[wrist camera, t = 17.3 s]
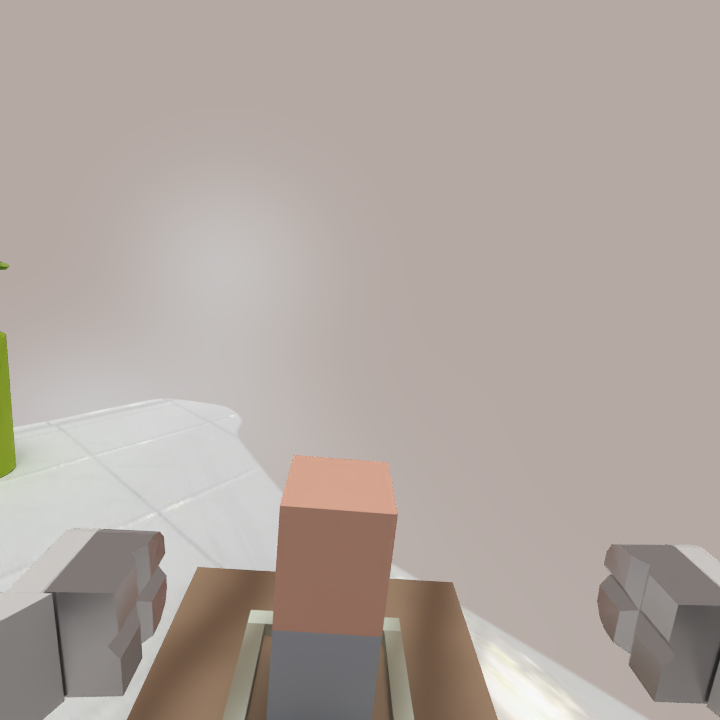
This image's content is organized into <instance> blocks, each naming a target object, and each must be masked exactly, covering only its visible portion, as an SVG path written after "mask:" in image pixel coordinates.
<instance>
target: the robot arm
mask: <svg viewBox="0 0 720 720" xmlns="http://www.w3.org/2000/svg"><path fill="white" fill-rule="evenodd" d="M164 554H165V546H164V536H163V535H162V534H161V533H160V532H155V531H134V530H113V529H103V530H102V529H88V528H74V529H70V530H67V531H66V532H65V533H64V534H63V535H62V536H61V537H60V538H59V539H58V540H57V541H56V542H55V543H54V544H53V545H52V546H51V547H50V548H49V549H48V550H47V551H46V552H45V553H44V554H43V555H42V556H41V557H40V558H39V559H38V560H37V561H36V562H35V563H34V564H33V565H32V566H31V567H30V568H29V569H28V570H27V571H26V572H25V573H24V574H23V575H22V576H21V577H20V578H19V579H18V580H17V581H16V582H15V583H14V584H13V585H12V586H11V587H10V588H9V589H8V590H7V591H6V592H0V720H43V719H44V718H45V717H46V716H47V715H48V714H50V713H51V712H52V711H53V710H54V709H55V708H57V707H58V706H59V705H60V704H61V703H62V702H64V697H102V696H123V695H124V693H125V691H126V689H127V687H128V685H129V683H130V681H131V679H132V677H133V675H134V673H135V671H136V669H137V667H138V665H139V663H140V661H141V659H142V646H141V644H142V643H143V642H145V641H146V640H147V639H149V638H150V637H151V636H153V635H154V633H155V631H156V629H157V626H158V624H159V622H160V620H161V616H162V612H163V609H164V605H165V600H166V590H167V583H166V575H165V573H164V572H163V571H162V570H161V569H160V567H159V566H158V565H159V563H160V561H161V560H162V558H163V556H164ZM604 565H605V566H606V568H607V570H608V572H609V573H610V575H609V576H608V577H607V578H606V579H605V580H604V581H603V582H602V583H601V584H600V588H599V595H598V600H597V602H598V608H599V615H600V618H601V621H602V624H603V626H604V629H605V631H606V632H607V633H608V635H609V637H610V638H611V640H612V641H613V643H615V644H616V645H618V646H619V647H621V648H622V649H624V650H625V651H627V652H628V653H629V654H630V656H629V666H630V667H631V669H632V670H633V672H634V673H635V675H636V676H637V678H638V679H639V680H640V682H641V683H642V685H643V686H644V688H645V689H646V690H647V692H648V693H649V695H650V696H651V698H652V699H653V700H654V701H655V702H675V703H699V704H701V703H702V704H707V707H708V708H709V709H710V710H711V711H713V712H714V713H715V714H716V715H718V716H719V717H720V562H719V561H718V560H716V559H715V558H714V557H713V556H711V555H710V554H709V553H708V552H707V551H705V550H704V549H703V548H701V547H698V546H696V545H693V544H666V545H611V547H610V548H609V550H608V551H607V553H606V558H605V562H604Z"/></svg>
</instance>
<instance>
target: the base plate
mask: <svg viewBox="0 0 720 720" xmlns="http://www.w3.org/2000/svg"><path fill="white" fill-rule="evenodd" d="M275 577H276V572H270V571H254V570H237V569H221V568H204V567H198V568H197V570H196V572H195V574H194V576H193V578H192V581H191V583H190V585H189V587H188V589H187V591H186V594H185V596H184V598H183V600H182V602H181V604H180V606H179V609H178V611H177V613H176V615H175V617H174V619H173V622H172V624H171V626H170V628H169V630H168V632H167V635H166V637H165V639H164V641H163V643H162V645H161V647H160V650H159V652H158V654H157V656H156V658H155V660H154V663H153V665H152V667H151V669H150V671H149V673H148V676H147V678H146V680H145V682H144V684H143V686H142V688H141V691H140V693H139V695H138V697H137V699H136V701H135V704H134V706H133V708H132V710H131V712H130V714H129V717H128V719H127V720H266V717H267V702H268V686H269V671H270V655H271V639H272V624H273V608H274V593H275ZM371 720H498V719H497V716H496V713H495V710H494V707H493V704H492V701H491V698H490V695H489V692H488V689H487V686H486V683H485V680H484V677H483V673H482V670H481V667H480V664H479V661H478V658H477V655H476V652H475V649H474V646H473V643H472V640H471V637H470V634H469V631H468V628H467V625H466V622H465V619H464V616H463V613H462V610H461V607H460V604H459V601H458V598H457V595H456V592H455V589H454V586H453V583H451V582H436V581H435V582H434V581H419V580H402V579H389V586H388V594H387V602H386V609H385V617H384V625H383V633H382V641H381V648H380V656H379V664H378V672H377V680H376V687H375V695H374V703H373V711H372V719H371Z"/></svg>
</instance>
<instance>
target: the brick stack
mask: <svg viewBox="0 0 720 720" xmlns="http://www.w3.org/2000/svg"><path fill="white" fill-rule="evenodd" d="M397 515H398V514H397V508H396V503H395V498H394V493H393V487H392V481H391V477H390V471H389V466H388V463H386V462H374V461H360V460H348V459H335V458H324V457H311V456H298V455H294V457H293V460H292V464H291V468H290V472H289V475H288V479H287V483H286V486H285V490H284V493H283V497H282V501H281V504H280V515H279V531H278V546H277V562H276V577H275V593H274V608H273V624H272V639H271V655H270V671H269V686H268V702H267V717H266V720H371V719H372V711H373V703H374V695H375V687H376V680H377V672H378V664H379V656H380V648H381V641H382V633H383V625H384V617H385V609H386V602H387V594H388V586H389V578H390V570H391V563H392V555H393V547H394V539H395V531H396V524H397Z"/></svg>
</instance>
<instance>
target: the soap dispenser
mask: <svg viewBox="0 0 720 720" xmlns="http://www.w3.org/2000/svg"><path fill="white" fill-rule="evenodd" d="M8 267H9V265H7V264H5V263H3V262H0V270H5V269H7V268H8ZM15 466H16V459H15V446H14V433H13V420H12V407H11V394H10V380H9V367H8V354H7V341H6V334H5V333H3V332H0V477H2V476H4V475H6V474H8V473H10V472H11V471H12V470H13V469H14V468H15Z"/></svg>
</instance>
